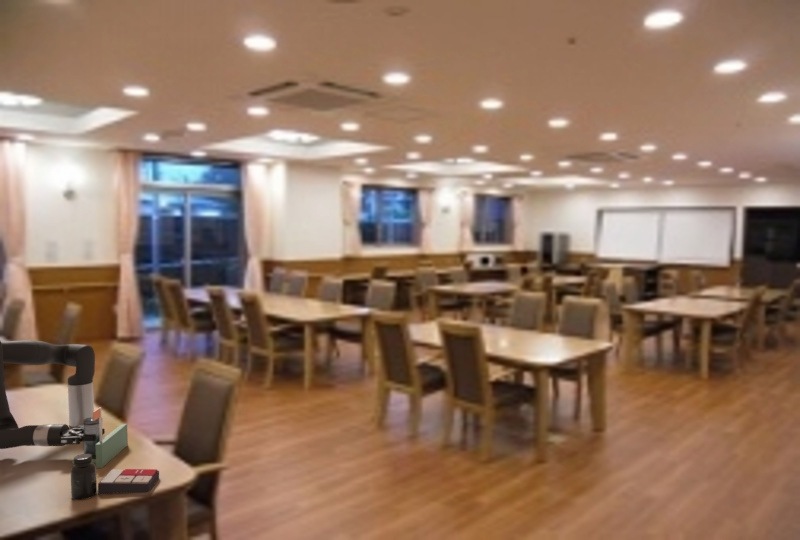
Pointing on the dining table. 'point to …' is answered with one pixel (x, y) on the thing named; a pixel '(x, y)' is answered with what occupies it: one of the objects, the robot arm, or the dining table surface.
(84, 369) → the robot arm
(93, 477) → the supplement bottle
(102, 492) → the calculator
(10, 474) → the dining table surface
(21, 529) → the dining table surface
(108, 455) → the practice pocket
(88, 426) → the slate canister
